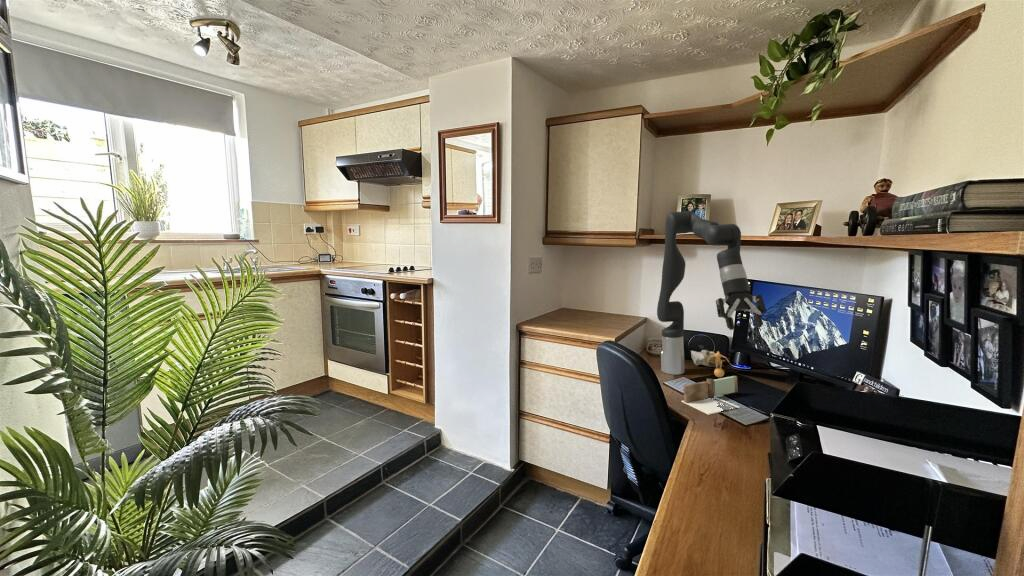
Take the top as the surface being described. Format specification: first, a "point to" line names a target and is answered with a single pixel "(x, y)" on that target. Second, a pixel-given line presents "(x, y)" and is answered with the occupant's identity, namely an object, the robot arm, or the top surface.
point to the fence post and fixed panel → (699, 391)
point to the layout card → (710, 405)
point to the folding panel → (725, 385)
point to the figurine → (718, 371)
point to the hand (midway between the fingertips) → (745, 328)
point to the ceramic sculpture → (705, 358)
